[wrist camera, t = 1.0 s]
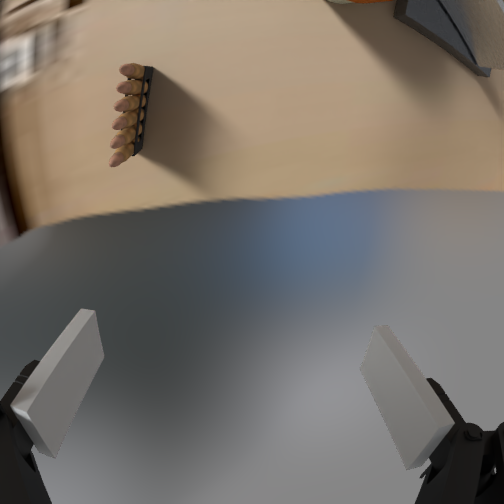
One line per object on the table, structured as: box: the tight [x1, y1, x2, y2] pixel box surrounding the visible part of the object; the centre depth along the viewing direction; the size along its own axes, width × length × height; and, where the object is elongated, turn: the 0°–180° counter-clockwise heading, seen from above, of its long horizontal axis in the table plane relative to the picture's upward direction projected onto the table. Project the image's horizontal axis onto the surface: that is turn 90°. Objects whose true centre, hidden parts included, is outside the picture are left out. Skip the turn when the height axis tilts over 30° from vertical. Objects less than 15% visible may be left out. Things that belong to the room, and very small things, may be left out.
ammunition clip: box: [109, 63, 153, 167], centre depth 28 cm, size 11×2×12 cm, turn 169°
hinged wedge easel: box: [440, 0, 504, 70], centre depth 22 cm, size 20×3×11 cm, turn 46°
